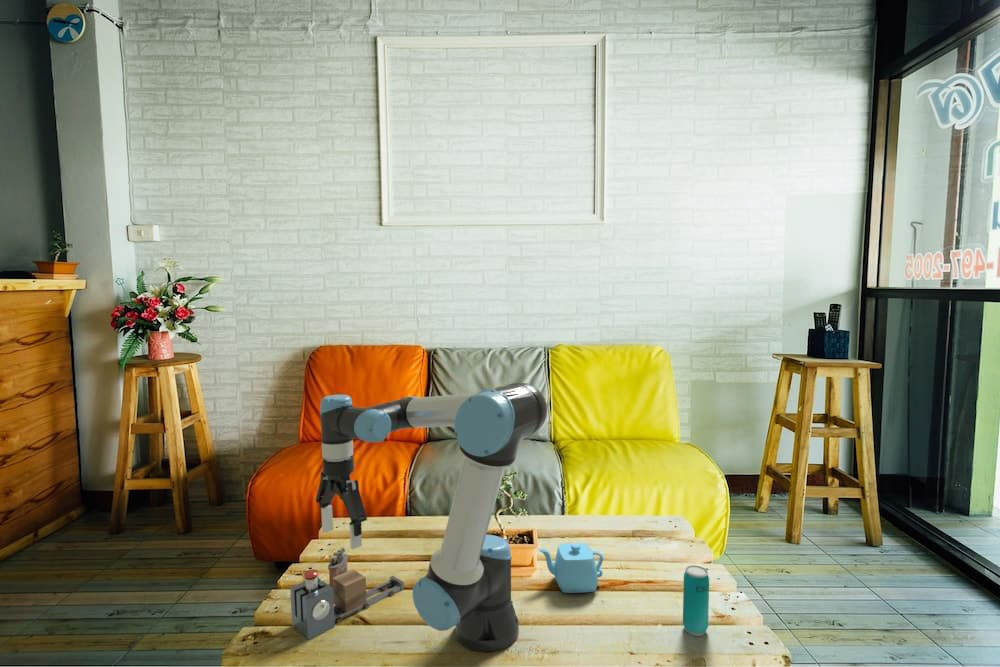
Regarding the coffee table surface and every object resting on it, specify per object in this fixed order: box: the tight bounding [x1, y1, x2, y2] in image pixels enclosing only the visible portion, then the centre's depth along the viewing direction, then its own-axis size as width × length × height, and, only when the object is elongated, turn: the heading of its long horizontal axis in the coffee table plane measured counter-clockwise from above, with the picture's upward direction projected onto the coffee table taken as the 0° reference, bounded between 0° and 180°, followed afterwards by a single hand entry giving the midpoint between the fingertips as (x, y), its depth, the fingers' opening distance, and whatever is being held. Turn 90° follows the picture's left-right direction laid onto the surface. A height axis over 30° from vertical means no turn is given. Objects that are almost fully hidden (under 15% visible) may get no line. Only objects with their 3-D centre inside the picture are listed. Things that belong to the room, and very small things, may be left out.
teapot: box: [538, 542, 604, 594], centre depth 157 cm, size 12×18×12 cm
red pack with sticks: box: [327, 546, 349, 588], centre depth 157 cm, size 8×3×10 cm, turn 168°
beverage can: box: [682, 565, 710, 637], centre depth 136 cm, size 6×6×15 cm
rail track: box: [294, 575, 405, 637], centre depth 147 cm, size 6×29×2 cm, turn 136°
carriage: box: [333, 569, 367, 613], centre depth 146 cm, size 6×6×7 cm
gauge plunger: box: [303, 569, 319, 595], centre depth 139 cm, size 3×3×7 cm
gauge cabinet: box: [289, 576, 336, 641], centre depth 139 cm, size 8×7×10 cm
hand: (341, 539), depth 144 cm, fingers open, 13 cm apart
